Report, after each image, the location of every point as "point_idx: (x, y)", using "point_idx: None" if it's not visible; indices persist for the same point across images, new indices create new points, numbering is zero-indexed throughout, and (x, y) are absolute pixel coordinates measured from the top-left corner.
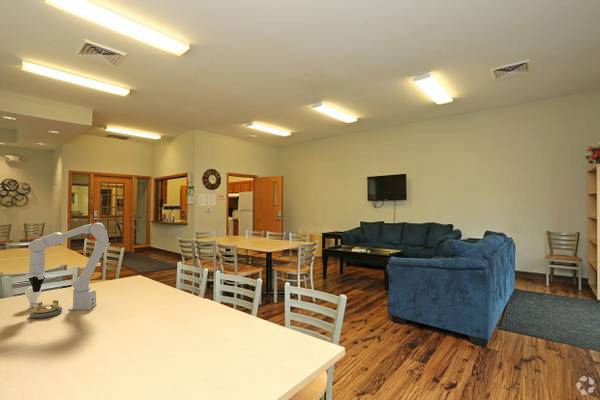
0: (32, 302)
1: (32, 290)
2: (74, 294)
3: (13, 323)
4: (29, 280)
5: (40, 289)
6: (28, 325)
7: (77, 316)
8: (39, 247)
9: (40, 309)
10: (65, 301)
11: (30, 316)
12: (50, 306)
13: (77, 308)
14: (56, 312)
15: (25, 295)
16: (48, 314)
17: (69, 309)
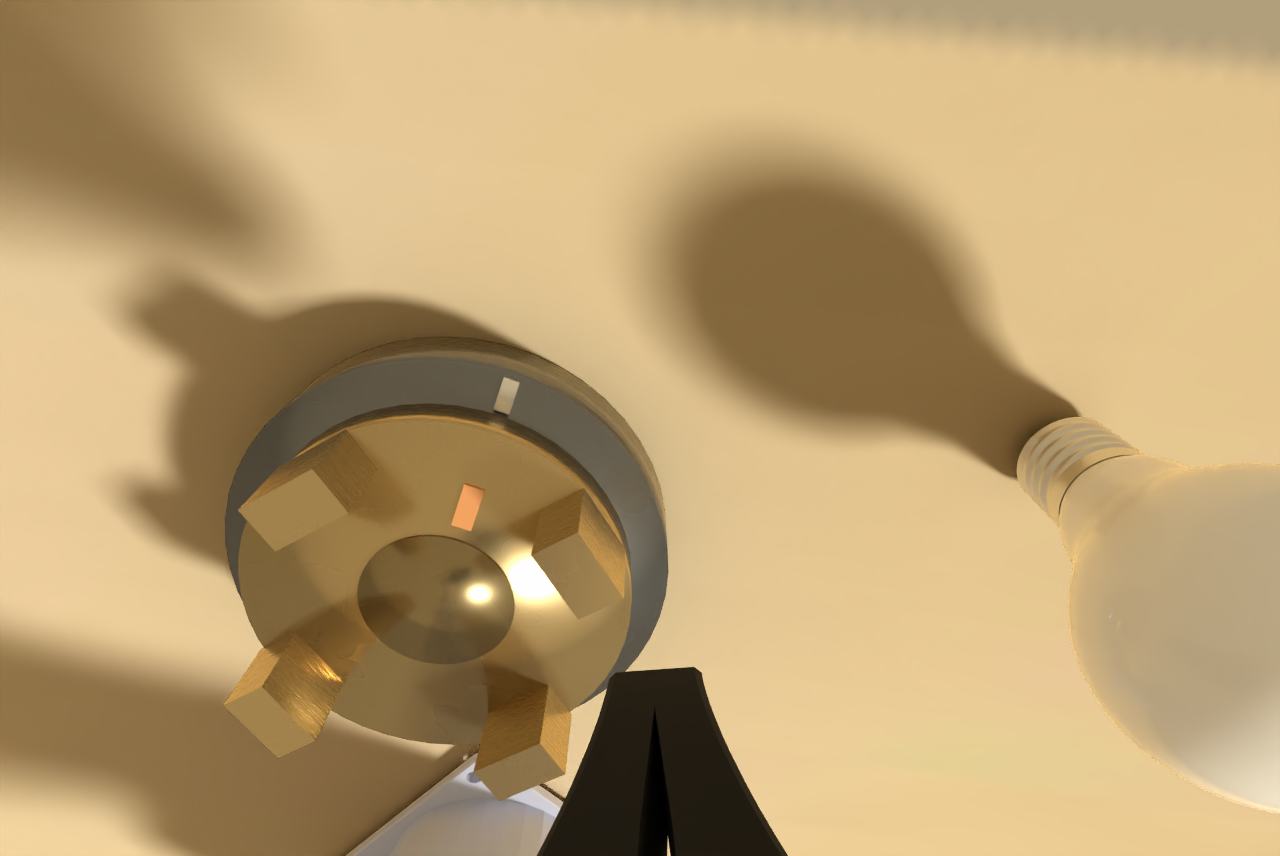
0: (1063, 489)
1: (1185, 658)
2: None
3: (276, 95)
4: None
5: (1185, 779)
6: (12, 269)
7: (105, 760)
8: None
9: (361, 519)
10: (971, 788)
11: (393, 351)
12: (441, 650)
13: (410, 825)
14: None
15: (1255, 467)
16: (238, 555)
17: (470, 759)
